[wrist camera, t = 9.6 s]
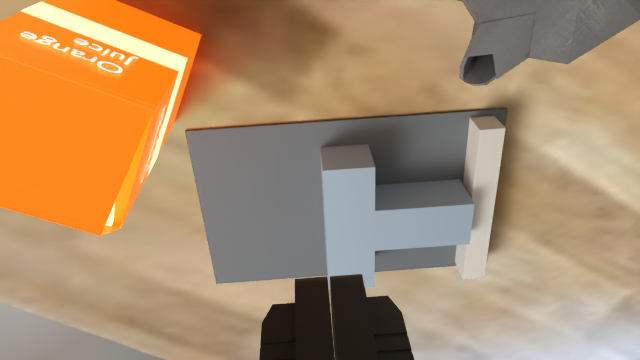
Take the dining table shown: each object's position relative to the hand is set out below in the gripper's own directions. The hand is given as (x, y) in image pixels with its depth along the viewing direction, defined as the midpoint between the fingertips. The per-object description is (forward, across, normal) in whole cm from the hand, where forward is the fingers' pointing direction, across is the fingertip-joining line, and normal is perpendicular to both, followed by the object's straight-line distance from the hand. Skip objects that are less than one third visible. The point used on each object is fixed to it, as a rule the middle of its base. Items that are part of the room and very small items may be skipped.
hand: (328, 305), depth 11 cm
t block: (+29, -7, +16) cm, 34 cm away
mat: (+29, -3, +16) cm, 33 cm away
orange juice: (+29, +13, +2) cm, 32 cm away
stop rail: (+29, -14, +16) cm, 36 cm away
